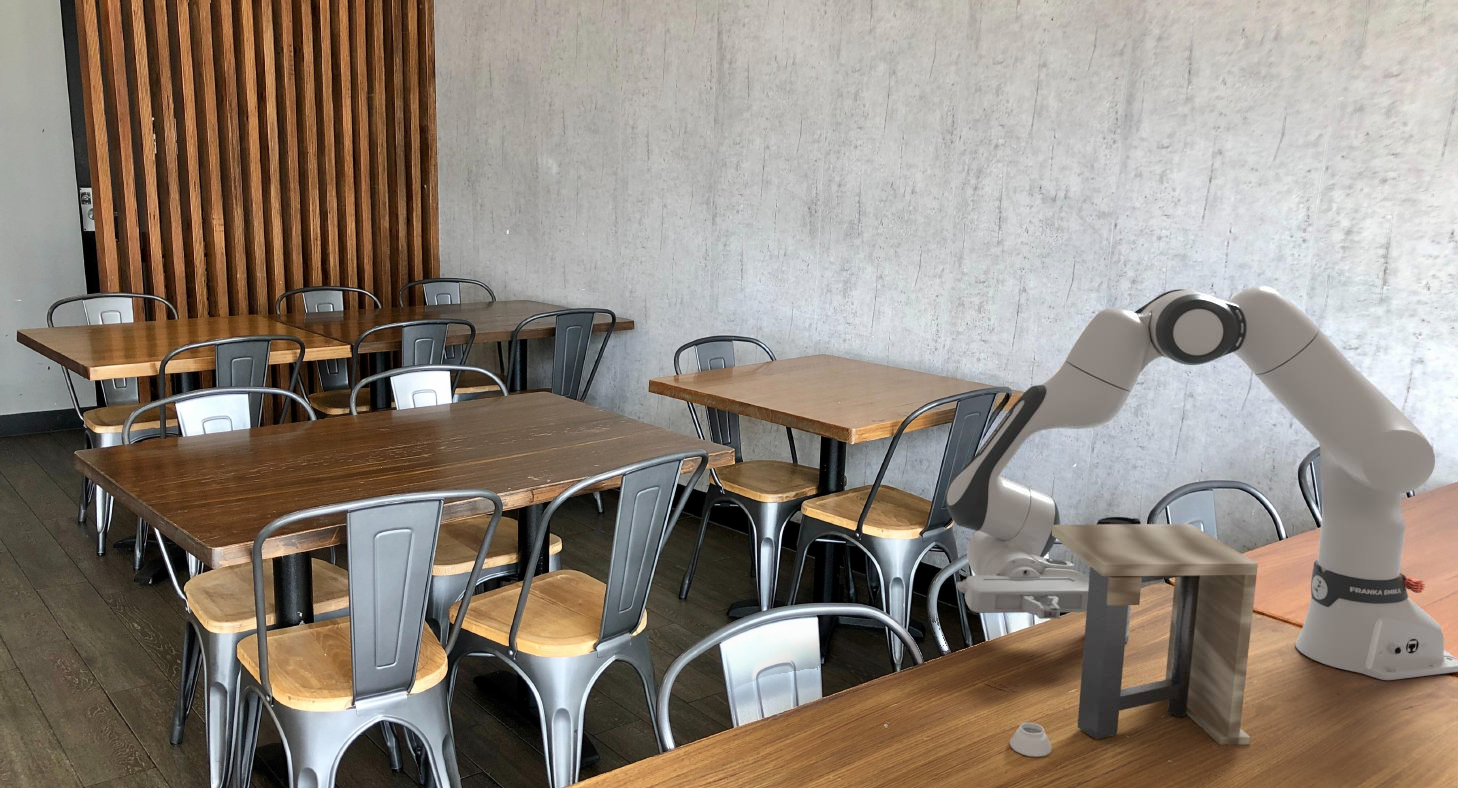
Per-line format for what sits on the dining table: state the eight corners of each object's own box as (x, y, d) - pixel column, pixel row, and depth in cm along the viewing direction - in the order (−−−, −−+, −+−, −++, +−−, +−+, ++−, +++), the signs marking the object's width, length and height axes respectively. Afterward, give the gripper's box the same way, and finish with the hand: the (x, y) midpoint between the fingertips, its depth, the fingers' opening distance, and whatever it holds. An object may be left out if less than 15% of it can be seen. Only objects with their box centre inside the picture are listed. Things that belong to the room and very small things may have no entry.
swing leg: (1173, 705, 149) (1188, 550, 145) (1193, 716, 145) (1209, 558, 142) (1077, 727, 142) (1090, 565, 138) (1096, 739, 139) (1109, 574, 135)
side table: (1184, 686, 155) (1200, 524, 151) (1249, 744, 139) (1269, 563, 134) (1040, 688, 154) (1052, 524, 150) (1089, 748, 137) (1104, 564, 133)
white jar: (1001, 746, 137) (1033, 763, 133) (1003, 725, 137) (1035, 741, 133) (1026, 736, 140) (1058, 752, 136) (1028, 715, 140) (1060, 730, 136)
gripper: (954, 562, 167) (981, 593, 154) (1080, 561, 169) (1119, 592, 156) (952, 600, 169) (979, 635, 155) (1077, 599, 170) (1115, 633, 157)
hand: (1050, 613), depth 155 cm, fingers closed
